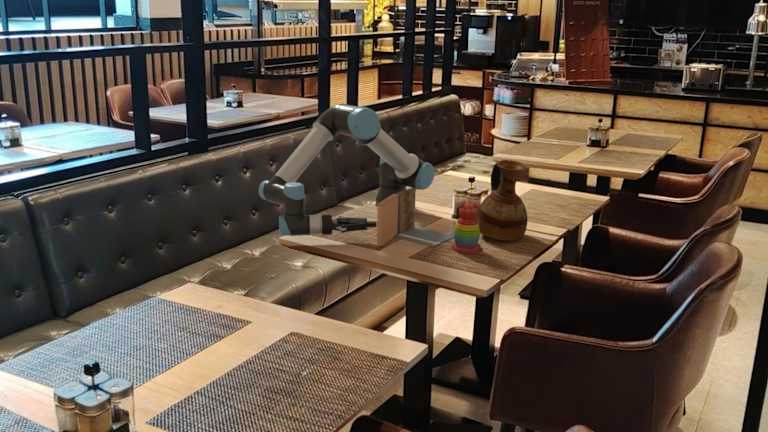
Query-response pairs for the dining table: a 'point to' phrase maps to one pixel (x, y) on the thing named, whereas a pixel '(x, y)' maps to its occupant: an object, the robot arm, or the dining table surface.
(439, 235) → the card
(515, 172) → the ceramic pitcher
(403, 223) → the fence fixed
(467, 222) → the stacking bear
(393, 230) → the tan square panel
